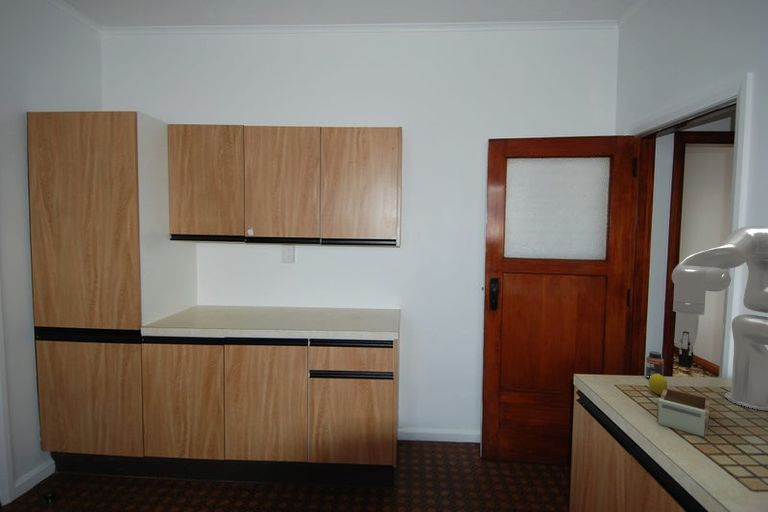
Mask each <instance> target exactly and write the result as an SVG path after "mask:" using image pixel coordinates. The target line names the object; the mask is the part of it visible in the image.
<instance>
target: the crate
mask: <svg viewBox="0 0 768 512" xmlns="http://www.w3.org/2000/svg"><path fill="white" fill-rule="evenodd" d="M659 399H663V400H667V401H671V402H675V403H679V404H683V405H687V406H691V407H695V408H699V409H703V410H705V426H704V436H706V437H707V436H708V427H709V418H710V405H711V398H710V397H708V396H707V397H706V396H702V395H699V394H693V393H690V392H685V391H681V390H676V389H673V388H668V387H667V388H664V390H663V392H662V393H661V395H660V398H659ZM658 412H659V401H658V402H657V404H656V420H655V421H656V422H658Z"/></svg>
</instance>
